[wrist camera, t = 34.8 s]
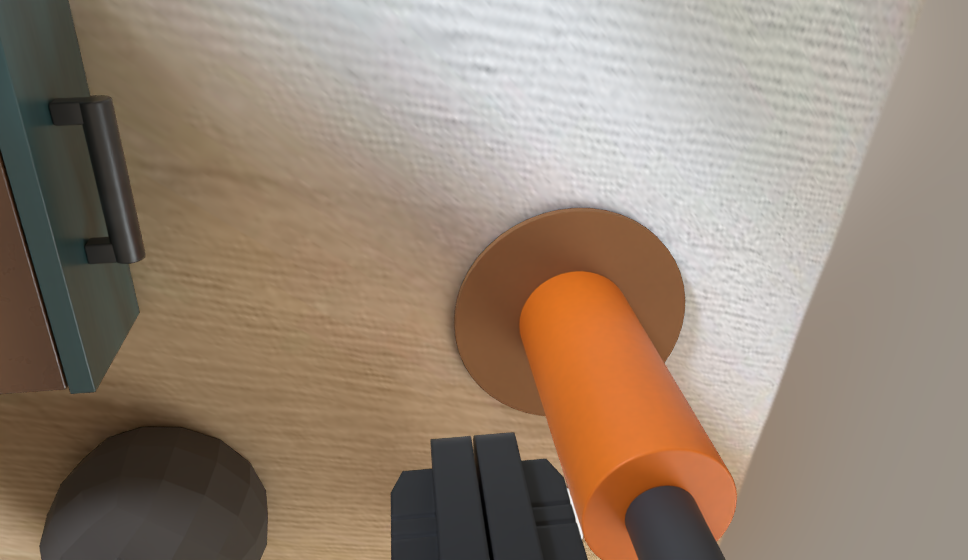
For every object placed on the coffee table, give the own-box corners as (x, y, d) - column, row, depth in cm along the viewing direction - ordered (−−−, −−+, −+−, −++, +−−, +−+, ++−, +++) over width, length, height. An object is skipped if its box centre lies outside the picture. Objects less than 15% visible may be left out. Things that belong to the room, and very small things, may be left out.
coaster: (450, 214, 35) (451, 217, 35) (694, 201, 36) (697, 204, 36) (457, 420, 40) (457, 425, 40) (671, 403, 41) (674, 407, 41)
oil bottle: (519, 274, 36) (620, 552, 21) (631, 267, 37) (808, 534, 22) (518, 371, 39) (609, 685, 23) (624, 363, 39) (779, 665, 24)
